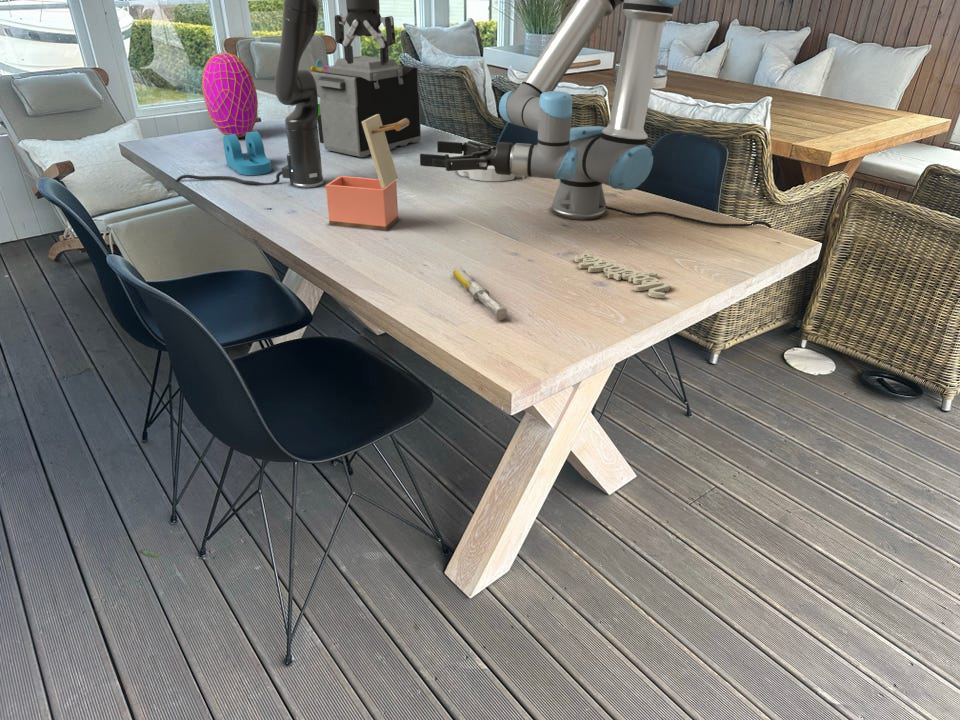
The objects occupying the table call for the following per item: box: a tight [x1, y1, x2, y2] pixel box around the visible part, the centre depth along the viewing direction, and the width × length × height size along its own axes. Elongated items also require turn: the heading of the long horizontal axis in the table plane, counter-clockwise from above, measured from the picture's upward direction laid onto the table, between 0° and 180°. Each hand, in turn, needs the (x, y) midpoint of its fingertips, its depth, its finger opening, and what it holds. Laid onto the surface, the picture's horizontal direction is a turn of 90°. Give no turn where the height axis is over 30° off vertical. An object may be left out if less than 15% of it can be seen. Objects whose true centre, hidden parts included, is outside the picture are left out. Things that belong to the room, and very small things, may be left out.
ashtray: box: [456, 154, 522, 182], centre depth 228 cm, size 23×23×4 cm
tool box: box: [311, 55, 422, 159], centre depth 250 cm, size 37×22×30 cm, turn 144°
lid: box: [362, 114, 410, 188], centre depth 172 cm, size 16×9×9 cm
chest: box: [325, 175, 399, 232], centre depth 182 cm, size 16×9×11 cm, turn 75°
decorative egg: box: [201, 52, 259, 139], centre depth 260 cm, size 19×19×30 cm
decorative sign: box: [574, 252, 671, 299], centre depth 155 cm, size 26×1×10 cm
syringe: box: [452, 266, 509, 321], centre depth 145 cm, size 25×4×3 cm, turn 21°
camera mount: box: [222, 131, 272, 176], centre depth 226 cm, size 18×10×10 cm, turn 35°
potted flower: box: [309, 58, 332, 122], centre depth 288 cm, size 9×8×25 cm
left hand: (366, 64), depth 164 cm, fingers open, 8 cm apart
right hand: (429, 152), depth 171 cm, fingers open, 13 cm apart
